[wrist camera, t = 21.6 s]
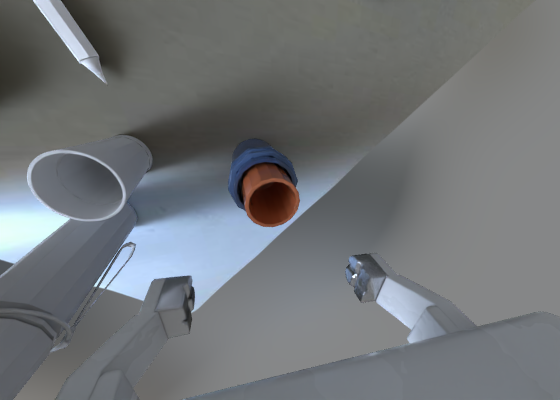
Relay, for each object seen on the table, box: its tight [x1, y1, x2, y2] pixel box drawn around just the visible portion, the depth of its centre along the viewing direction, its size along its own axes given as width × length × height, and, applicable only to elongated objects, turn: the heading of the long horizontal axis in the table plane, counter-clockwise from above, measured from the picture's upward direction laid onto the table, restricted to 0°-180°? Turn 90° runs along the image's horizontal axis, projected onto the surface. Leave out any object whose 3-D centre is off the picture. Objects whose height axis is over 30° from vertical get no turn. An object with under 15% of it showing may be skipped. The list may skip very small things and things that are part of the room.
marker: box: [33, 0, 108, 85], centre depth 22 cm, size 3×2×16 cm
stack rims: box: [228, 147, 298, 209], centre depth 27 cm, size 9×9×2 cm
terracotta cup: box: [240, 162, 300, 227], centre depth 26 cm, size 6×6×10 cm
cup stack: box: [232, 139, 296, 211], centre depth 30 cm, size 8×8×12 cm
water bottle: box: [0, 202, 137, 400], centre depth 24 cm, size 9×8×25 cm
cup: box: [27, 135, 153, 221], centre depth 26 cm, size 8×8×12 cm
